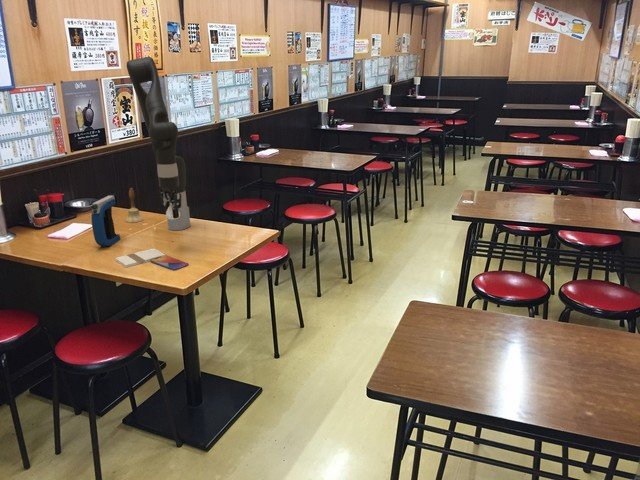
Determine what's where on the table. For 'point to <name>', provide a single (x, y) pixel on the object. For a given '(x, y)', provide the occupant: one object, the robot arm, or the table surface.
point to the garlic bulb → (170, 213)
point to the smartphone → (169, 262)
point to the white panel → (139, 257)
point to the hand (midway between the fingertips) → (172, 216)
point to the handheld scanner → (104, 221)
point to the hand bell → (133, 210)
